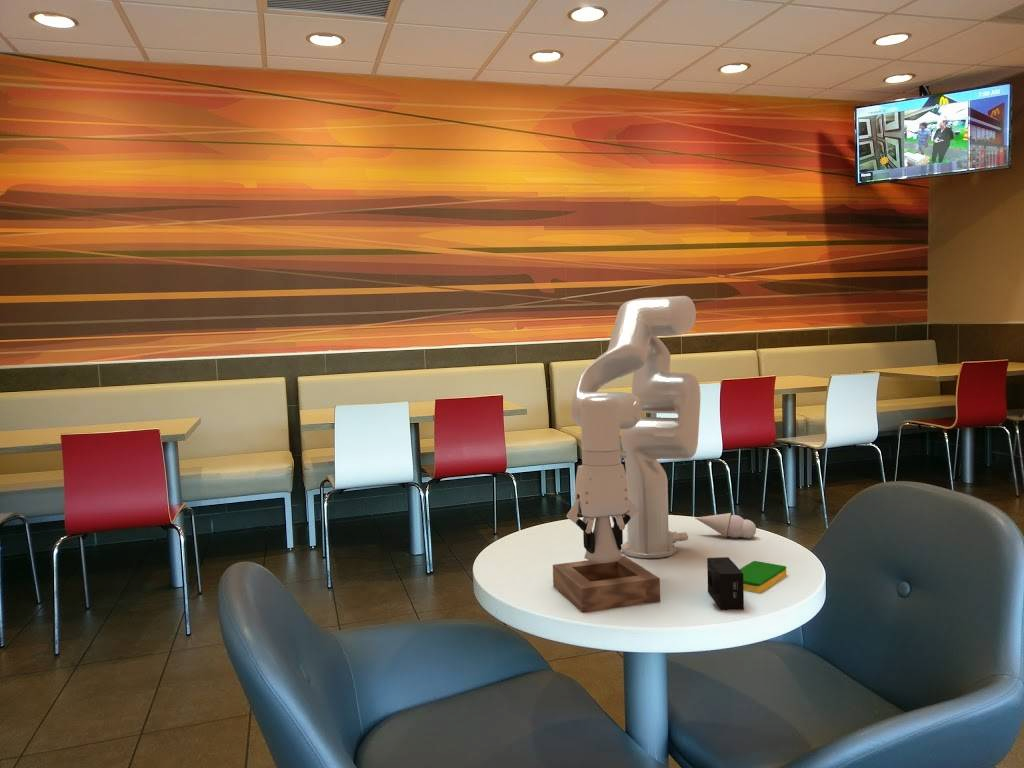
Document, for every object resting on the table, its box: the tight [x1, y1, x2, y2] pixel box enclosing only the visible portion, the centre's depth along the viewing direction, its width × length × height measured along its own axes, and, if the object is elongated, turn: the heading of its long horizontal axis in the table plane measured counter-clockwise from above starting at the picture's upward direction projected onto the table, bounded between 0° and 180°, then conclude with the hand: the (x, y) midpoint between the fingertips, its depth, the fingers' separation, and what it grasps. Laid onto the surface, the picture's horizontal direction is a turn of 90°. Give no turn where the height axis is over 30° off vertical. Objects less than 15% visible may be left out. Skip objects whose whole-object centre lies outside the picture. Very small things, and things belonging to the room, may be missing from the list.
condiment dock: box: [552, 555, 661, 613], centre depth 151 cm, size 16×16×4 cm
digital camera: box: [706, 556, 745, 611], centre depth 145 cm, size 10×5×7 cm, turn 179°
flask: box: [583, 516, 624, 563], centre depth 150 cm, size 7×7×10 cm
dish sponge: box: [739, 560, 787, 594], centre depth 156 cm, size 7×14×2 cm, turn 139°
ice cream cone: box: [694, 512, 757, 539], centre depth 189 cm, size 6×6×15 cm
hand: (603, 549), depth 151 cm, fingers closed on flask, 5 cm apart
